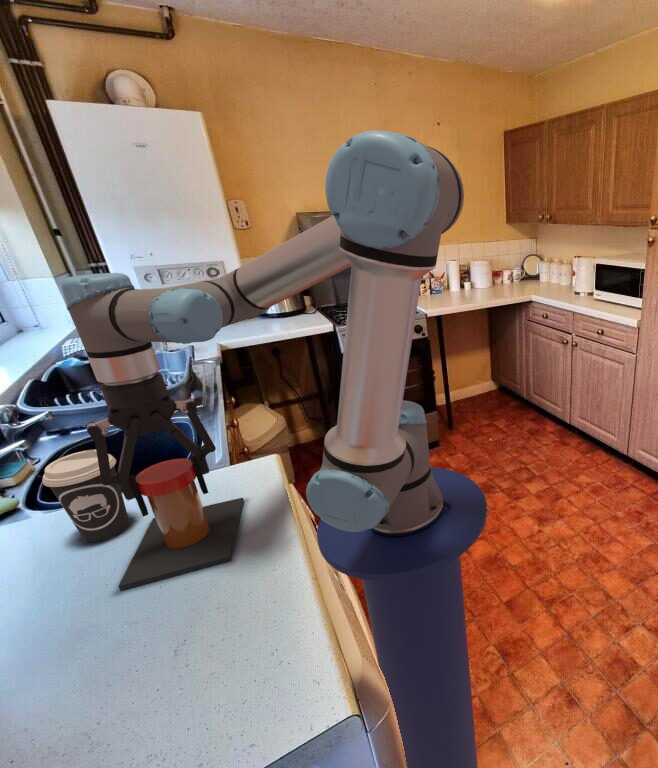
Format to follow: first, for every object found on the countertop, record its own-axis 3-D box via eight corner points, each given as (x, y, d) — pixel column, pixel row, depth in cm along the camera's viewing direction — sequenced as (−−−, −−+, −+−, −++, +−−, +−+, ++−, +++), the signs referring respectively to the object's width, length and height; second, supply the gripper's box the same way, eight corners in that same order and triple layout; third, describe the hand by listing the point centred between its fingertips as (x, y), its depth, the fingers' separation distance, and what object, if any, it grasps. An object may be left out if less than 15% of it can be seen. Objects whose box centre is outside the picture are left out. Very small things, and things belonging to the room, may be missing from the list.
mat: (244, 501, 89) (242, 497, 88) (230, 560, 73) (229, 556, 73) (154, 522, 83) (152, 517, 83) (120, 591, 68) (118, 586, 68)
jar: (213, 519, 82) (193, 459, 77) (206, 541, 76) (184, 478, 72) (171, 529, 80) (148, 468, 75) (161, 553, 74) (135, 489, 69)
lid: (201, 465, 79) (197, 454, 78) (191, 489, 72) (187, 476, 71) (147, 476, 76) (143, 464, 75) (132, 502, 69) (127, 489, 68)
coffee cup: (152, 516, 85) (126, 449, 80) (102, 551, 76) (68, 478, 71) (112, 511, 87) (83, 445, 81) (58, 545, 78) (21, 473, 72)
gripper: (204, 357, 76) (237, 469, 84) (36, 389, 63) (95, 518, 71) (214, 366, 71) (248, 484, 79) (34, 404, 58) (97, 541, 66)
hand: (175, 500), depth 75 cm, fingers closed on lid, 8 cm apart
